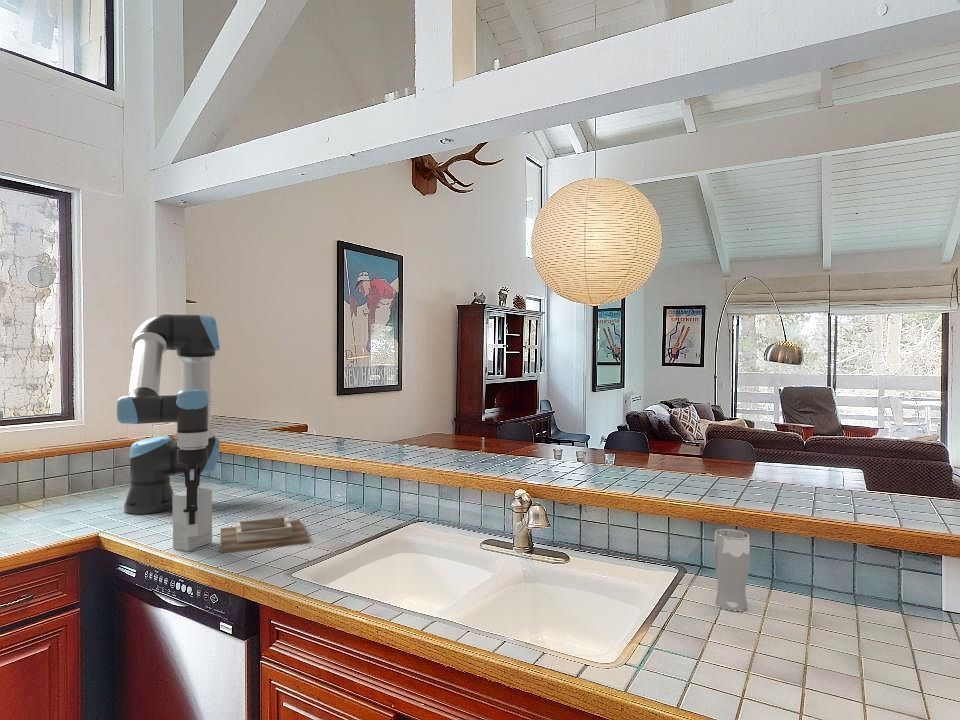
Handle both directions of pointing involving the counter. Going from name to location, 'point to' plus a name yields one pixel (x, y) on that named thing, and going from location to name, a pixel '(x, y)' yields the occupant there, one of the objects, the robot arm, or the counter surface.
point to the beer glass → (731, 568)
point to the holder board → (262, 534)
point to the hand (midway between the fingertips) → (192, 530)
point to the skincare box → (203, 520)
